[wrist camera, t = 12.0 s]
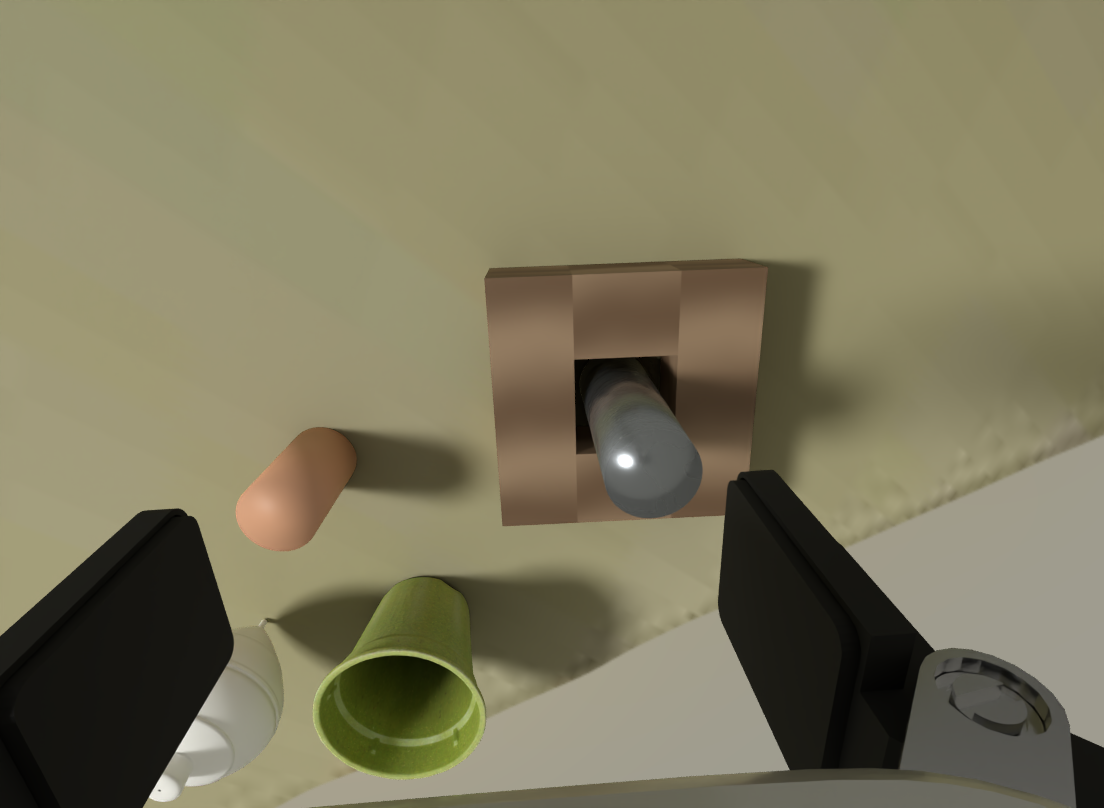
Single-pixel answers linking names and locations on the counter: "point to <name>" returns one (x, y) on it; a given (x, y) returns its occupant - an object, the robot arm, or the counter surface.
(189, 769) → the spinning top
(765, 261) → the counter surface
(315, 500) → the short pin
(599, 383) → the long pin
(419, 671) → the plant pot
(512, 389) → the socket block
